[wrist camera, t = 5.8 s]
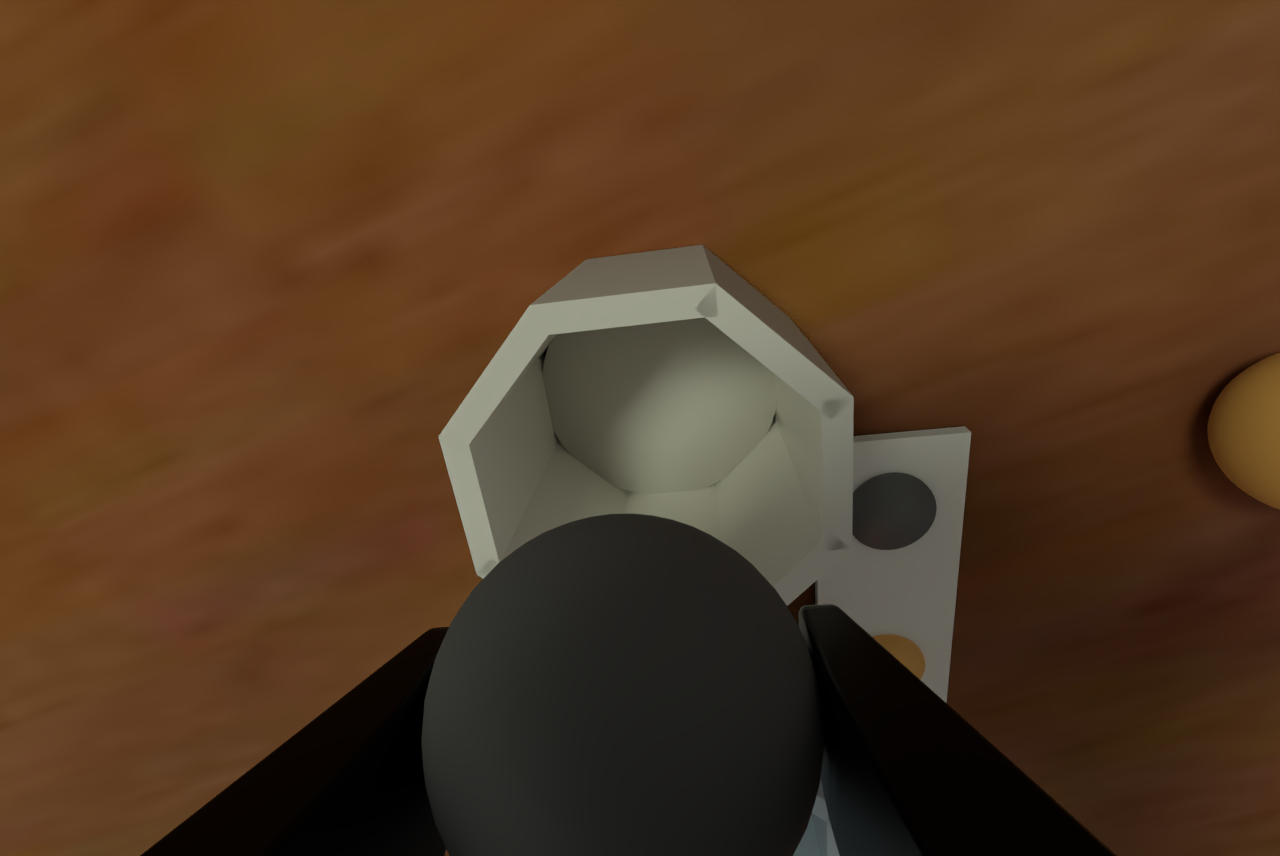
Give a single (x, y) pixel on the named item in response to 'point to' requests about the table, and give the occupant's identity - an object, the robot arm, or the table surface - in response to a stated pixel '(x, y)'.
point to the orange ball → (1250, 430)
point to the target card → (905, 546)
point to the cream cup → (659, 419)
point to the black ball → (623, 702)
